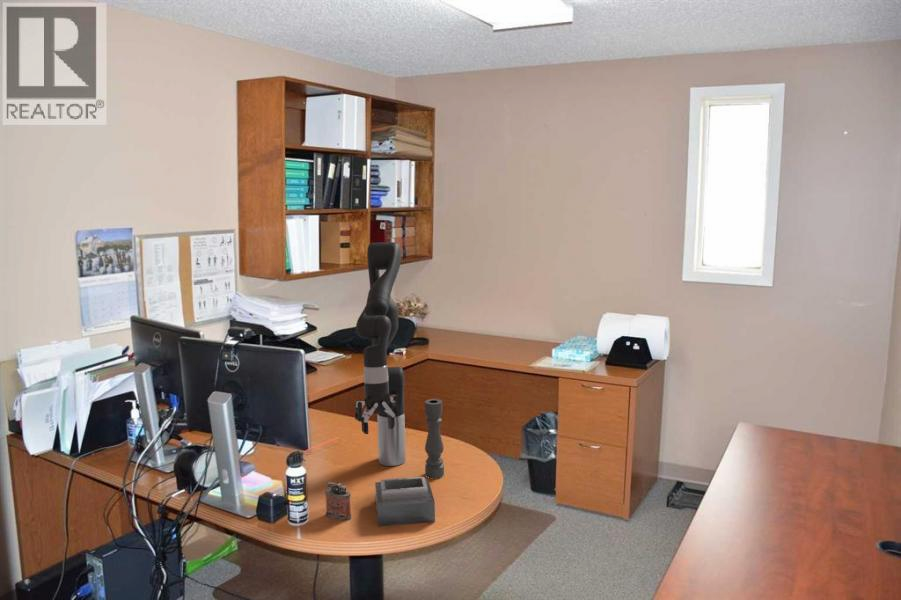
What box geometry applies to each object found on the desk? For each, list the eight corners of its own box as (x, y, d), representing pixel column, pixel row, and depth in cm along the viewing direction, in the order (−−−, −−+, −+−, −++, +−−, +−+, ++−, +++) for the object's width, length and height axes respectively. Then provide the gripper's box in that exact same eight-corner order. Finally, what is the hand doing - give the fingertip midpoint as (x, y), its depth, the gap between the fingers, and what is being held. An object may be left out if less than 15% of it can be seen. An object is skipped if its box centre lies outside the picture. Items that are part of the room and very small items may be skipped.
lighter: (353, 516, 204) (352, 483, 202) (347, 521, 201) (346, 488, 199) (330, 511, 207) (329, 479, 206) (323, 516, 204) (322, 483, 203)
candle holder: (441, 479, 229) (440, 405, 224) (423, 478, 230) (421, 404, 226) (445, 471, 235) (445, 399, 230) (427, 470, 236) (426, 398, 232)
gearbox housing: (375, 501, 214) (374, 474, 212) (428, 497, 216) (427, 470, 215) (378, 526, 198) (377, 497, 197) (434, 521, 200) (434, 493, 199)
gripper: (391, 374, 225) (393, 424, 226) (349, 381, 217) (352, 432, 219) (402, 378, 218) (404, 429, 220) (359, 385, 211) (362, 438, 213)
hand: (378, 431), depth 220 cm, fingers open, 8 cm apart
